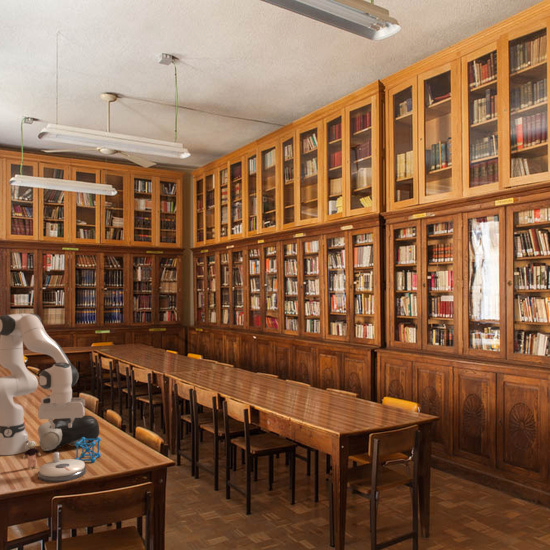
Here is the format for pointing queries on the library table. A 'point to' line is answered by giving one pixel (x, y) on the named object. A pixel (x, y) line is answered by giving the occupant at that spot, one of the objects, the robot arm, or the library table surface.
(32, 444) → the grandmother figurine
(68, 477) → the turntable base
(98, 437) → the molecular structure
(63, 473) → the turntable
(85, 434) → the head bust
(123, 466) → the library table surface
